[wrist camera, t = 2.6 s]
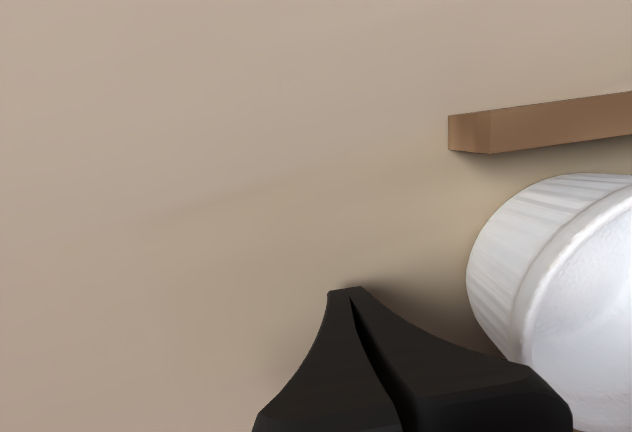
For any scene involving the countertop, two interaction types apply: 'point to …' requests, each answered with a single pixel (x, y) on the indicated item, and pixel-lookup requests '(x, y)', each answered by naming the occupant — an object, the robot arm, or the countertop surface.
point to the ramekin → (563, 291)
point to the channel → (541, 125)
